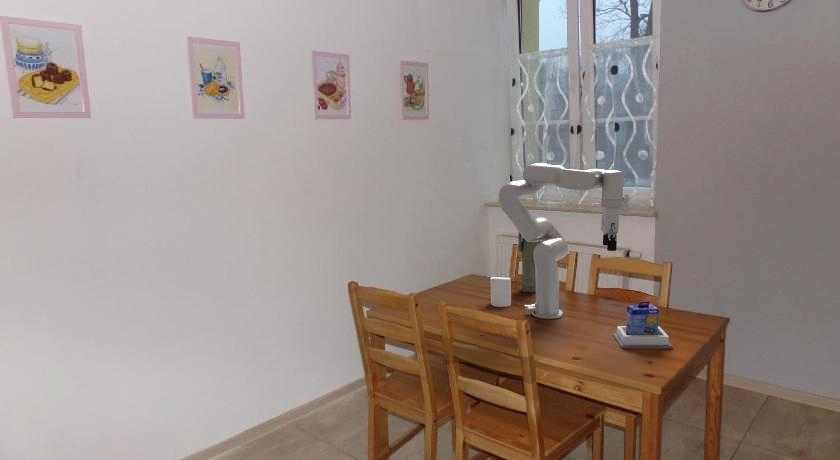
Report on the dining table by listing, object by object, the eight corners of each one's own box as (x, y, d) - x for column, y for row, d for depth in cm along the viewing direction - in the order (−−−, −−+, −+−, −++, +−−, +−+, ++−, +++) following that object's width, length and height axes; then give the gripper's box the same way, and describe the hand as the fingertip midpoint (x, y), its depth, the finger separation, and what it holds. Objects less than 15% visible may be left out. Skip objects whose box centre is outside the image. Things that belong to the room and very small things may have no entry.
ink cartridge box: (631, 342, 202) (632, 303, 199) (625, 337, 207) (625, 298, 205) (658, 341, 202) (659, 301, 200) (651, 336, 207) (652, 297, 205)
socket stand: (621, 348, 199) (621, 337, 199) (613, 335, 212) (613, 325, 211) (672, 348, 197) (672, 337, 197) (661, 335, 210) (661, 325, 209)
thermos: (546, 290, 277) (545, 219, 271) (526, 293, 272) (525, 221, 266) (535, 286, 285) (534, 217, 279) (515, 289, 280) (514, 219, 274)
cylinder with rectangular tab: (488, 306, 255) (488, 280, 253) (493, 300, 263) (493, 275, 261) (508, 307, 252) (508, 281, 250) (513, 301, 260) (512, 276, 258)
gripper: (597, 200, 223) (595, 243, 227) (605, 206, 207) (603, 252, 210) (617, 200, 222) (615, 243, 226) (626, 207, 206) (624, 253, 209)
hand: (609, 247), depth 218 cm, fingers open, 9 cm apart
